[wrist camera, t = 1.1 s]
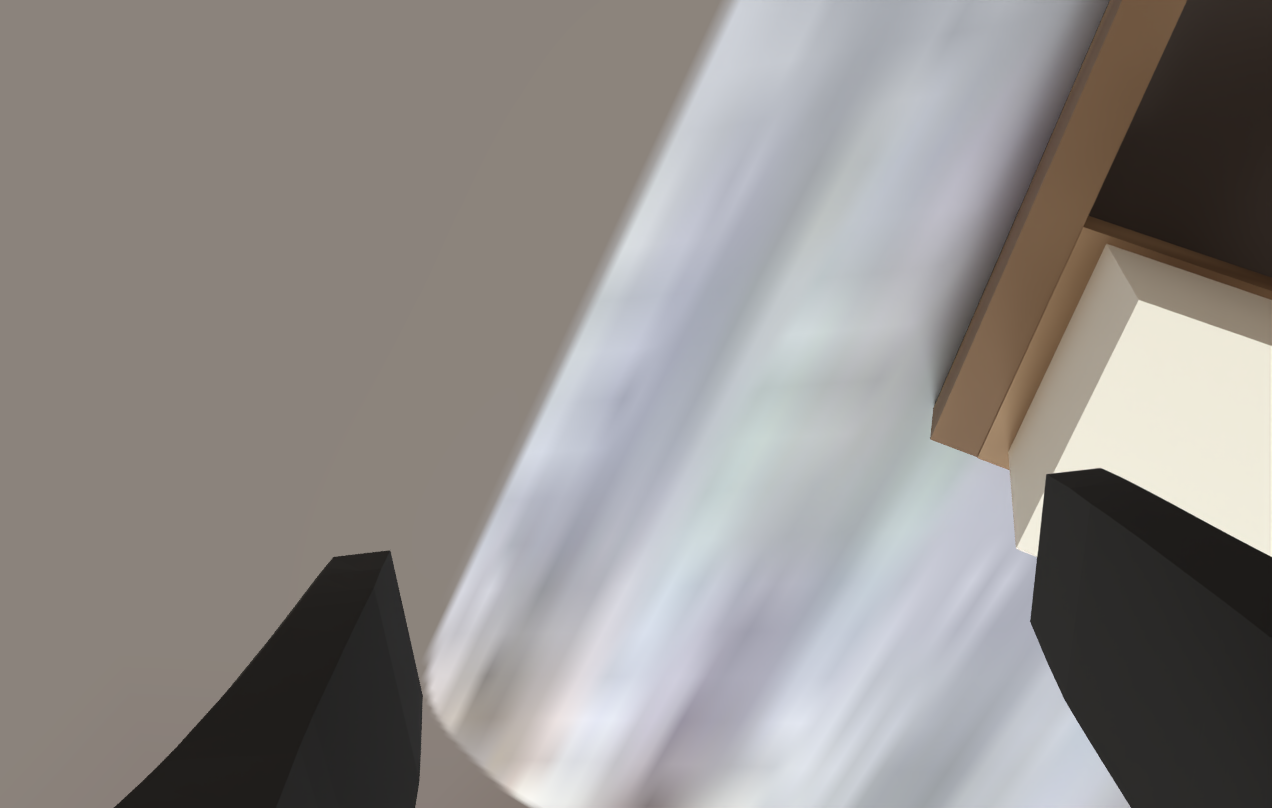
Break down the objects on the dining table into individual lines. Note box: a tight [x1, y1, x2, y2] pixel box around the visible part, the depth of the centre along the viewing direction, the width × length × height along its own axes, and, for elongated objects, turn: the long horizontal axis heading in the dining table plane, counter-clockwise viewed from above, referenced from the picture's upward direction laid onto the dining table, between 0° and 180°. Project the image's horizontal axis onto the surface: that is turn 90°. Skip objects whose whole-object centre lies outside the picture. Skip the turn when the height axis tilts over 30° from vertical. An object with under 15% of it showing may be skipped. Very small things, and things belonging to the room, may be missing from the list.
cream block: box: [1008, 244, 1272, 557], centre depth 19 cm, size 4×4×4 cm
